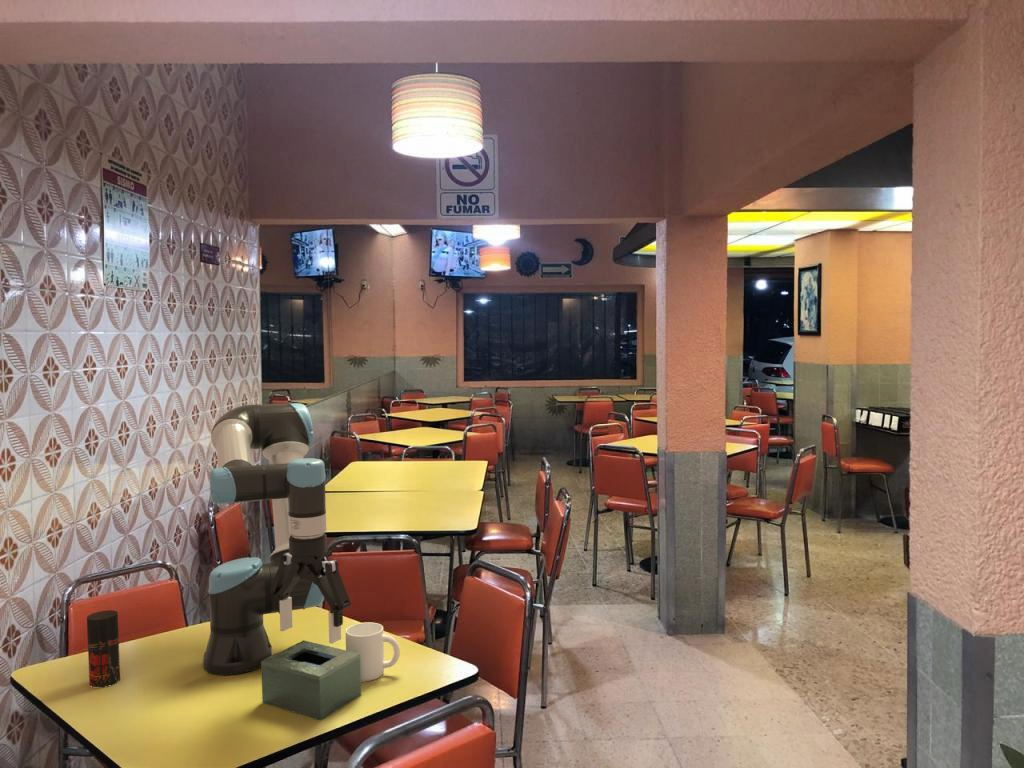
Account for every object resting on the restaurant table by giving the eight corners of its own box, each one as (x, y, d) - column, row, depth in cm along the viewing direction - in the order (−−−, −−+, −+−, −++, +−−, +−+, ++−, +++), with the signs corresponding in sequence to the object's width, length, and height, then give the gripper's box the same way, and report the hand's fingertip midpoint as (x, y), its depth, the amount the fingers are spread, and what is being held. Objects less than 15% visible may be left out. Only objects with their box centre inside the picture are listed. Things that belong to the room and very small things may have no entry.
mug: (404, 666, 168) (403, 622, 168) (396, 683, 160) (394, 636, 159) (352, 666, 169) (351, 622, 168) (341, 682, 161) (340, 636, 160)
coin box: (262, 702, 152) (261, 660, 151) (304, 679, 162) (303, 640, 162) (320, 720, 144) (319, 676, 144) (361, 694, 155) (360, 653, 154)
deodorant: (85, 682, 162) (82, 615, 162) (114, 673, 167) (112, 608, 166) (94, 690, 158) (92, 622, 158) (124, 681, 163) (121, 614, 162)
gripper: (250, 531, 154) (253, 630, 156) (341, 546, 142) (344, 653, 144) (277, 523, 161) (280, 618, 162) (366, 537, 149) (368, 639, 150)
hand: (310, 635), depth 153 cm, fingers open, 13 cm apart
